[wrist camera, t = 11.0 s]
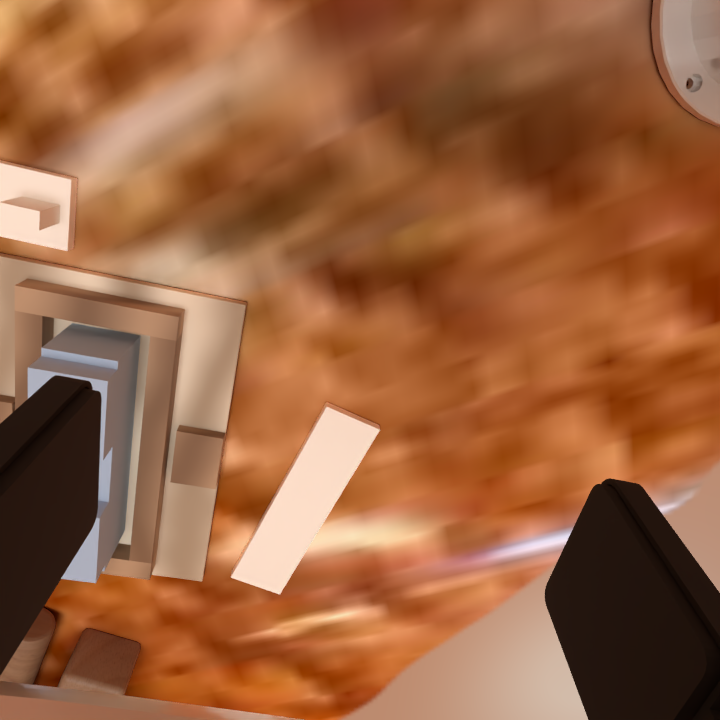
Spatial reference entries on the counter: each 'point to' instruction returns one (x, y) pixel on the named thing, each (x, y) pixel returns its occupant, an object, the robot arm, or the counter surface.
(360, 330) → the counter surface
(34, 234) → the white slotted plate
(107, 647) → the wooden block set
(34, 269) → the jig
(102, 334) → the notched grey stepped bar
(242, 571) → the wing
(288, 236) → the counter surface
